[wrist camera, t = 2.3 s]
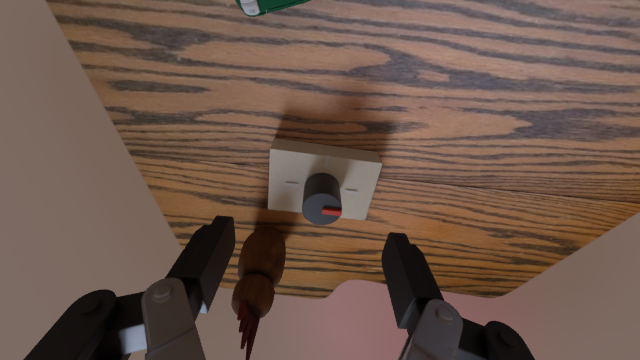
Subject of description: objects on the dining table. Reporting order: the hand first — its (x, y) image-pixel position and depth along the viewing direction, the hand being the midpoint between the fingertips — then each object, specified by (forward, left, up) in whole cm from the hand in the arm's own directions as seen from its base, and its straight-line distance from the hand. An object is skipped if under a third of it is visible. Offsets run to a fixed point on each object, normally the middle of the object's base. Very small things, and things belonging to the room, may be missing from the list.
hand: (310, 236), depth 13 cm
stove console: (+1, -6, -17) cm, 18 cm away
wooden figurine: (-5, -18, -17) cm, 25 cm away
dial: (+1, -6, -14) cm, 15 cm away
